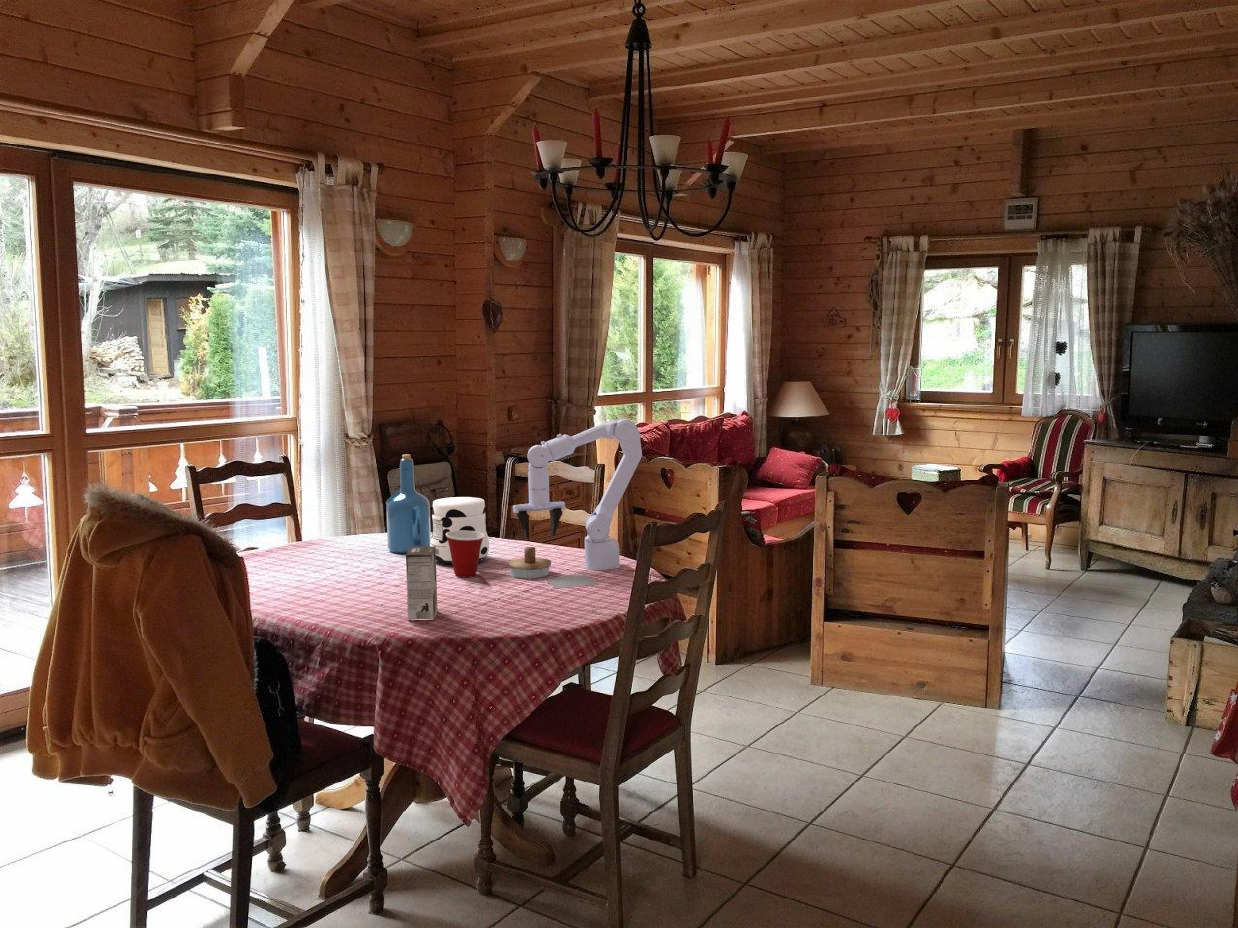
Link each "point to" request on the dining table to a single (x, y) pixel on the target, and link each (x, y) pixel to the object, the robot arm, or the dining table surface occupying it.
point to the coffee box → (421, 582)
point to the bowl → (529, 573)
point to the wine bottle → (407, 513)
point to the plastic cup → (465, 551)
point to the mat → (570, 581)
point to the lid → (529, 561)
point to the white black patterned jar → (457, 523)
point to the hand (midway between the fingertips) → (539, 536)
